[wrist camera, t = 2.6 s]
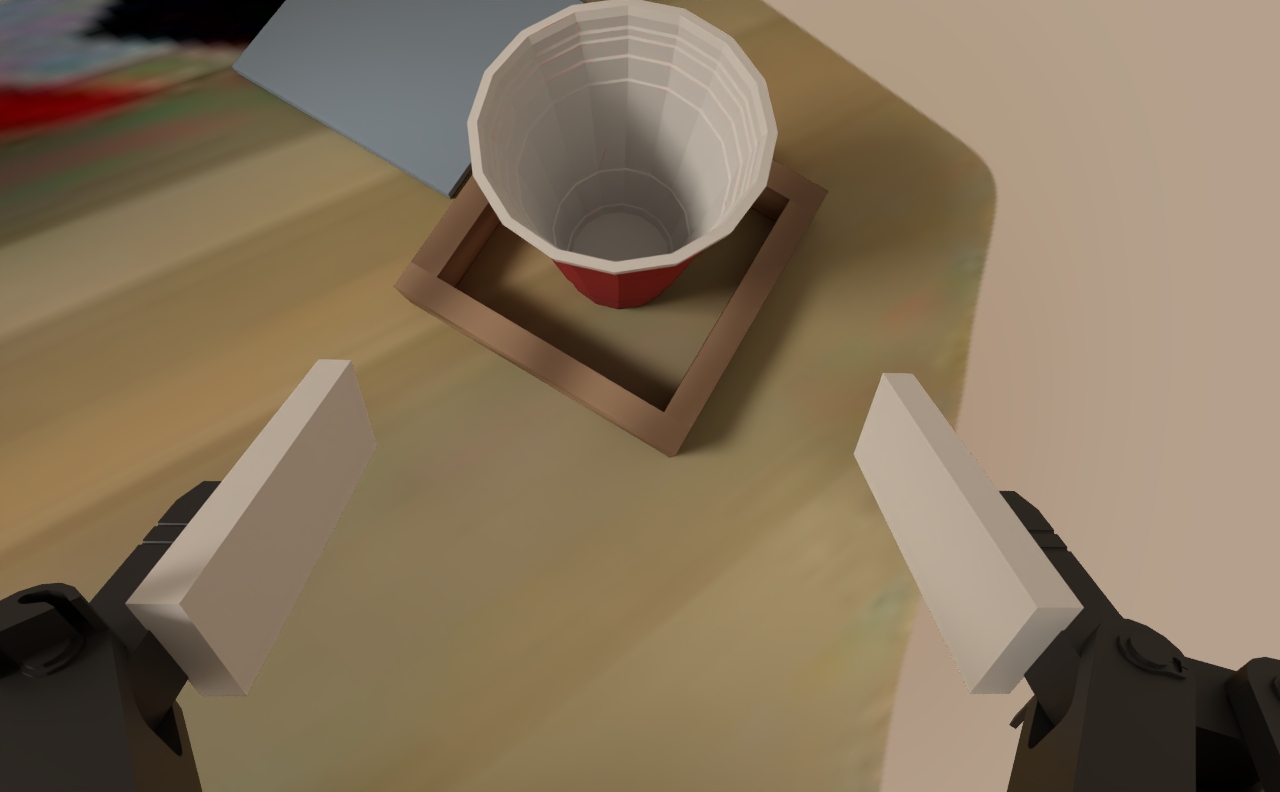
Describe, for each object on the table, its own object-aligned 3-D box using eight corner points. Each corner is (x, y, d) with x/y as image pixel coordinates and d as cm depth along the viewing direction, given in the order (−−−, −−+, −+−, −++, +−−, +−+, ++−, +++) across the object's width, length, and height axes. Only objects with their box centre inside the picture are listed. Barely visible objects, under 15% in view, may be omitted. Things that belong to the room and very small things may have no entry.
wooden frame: (411, 302, 30) (393, 286, 28) (570, 74, 33) (566, 40, 30) (669, 457, 30) (675, 455, 27) (811, 213, 32) (828, 191, 30)
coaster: (237, 73, 32) (231, 66, 31) (383, -106, 34) (379, -115, 33) (450, 198, 31) (447, 194, 31) (584, 9, 33) (583, 2, 33)
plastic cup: (624, 128, 32) (632, -75, 21) (755, 264, 32) (842, 134, 20) (476, 248, 31) (393, 103, 19) (610, 394, 30) (611, 337, 18)
